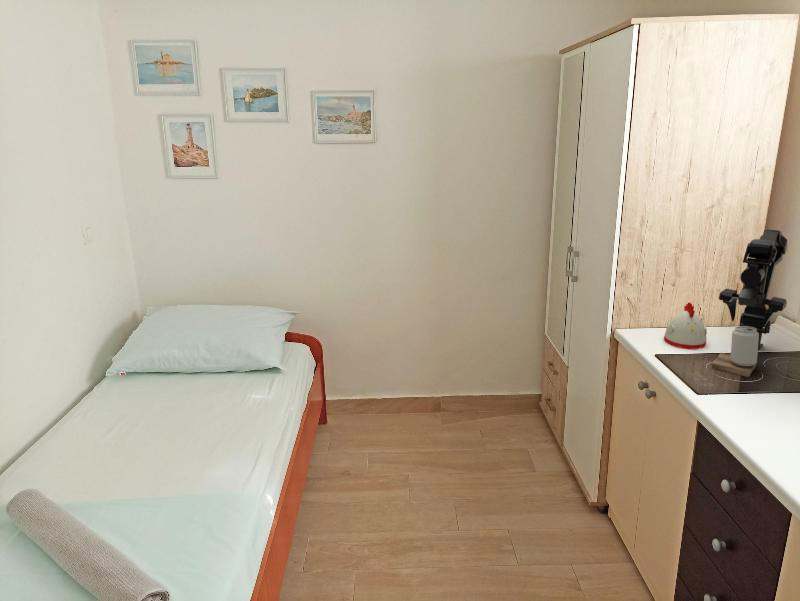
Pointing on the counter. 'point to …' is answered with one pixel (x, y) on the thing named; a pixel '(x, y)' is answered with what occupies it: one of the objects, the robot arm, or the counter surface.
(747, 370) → the brown flat square block
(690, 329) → the kitchen timer
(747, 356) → the can
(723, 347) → the counter surface
